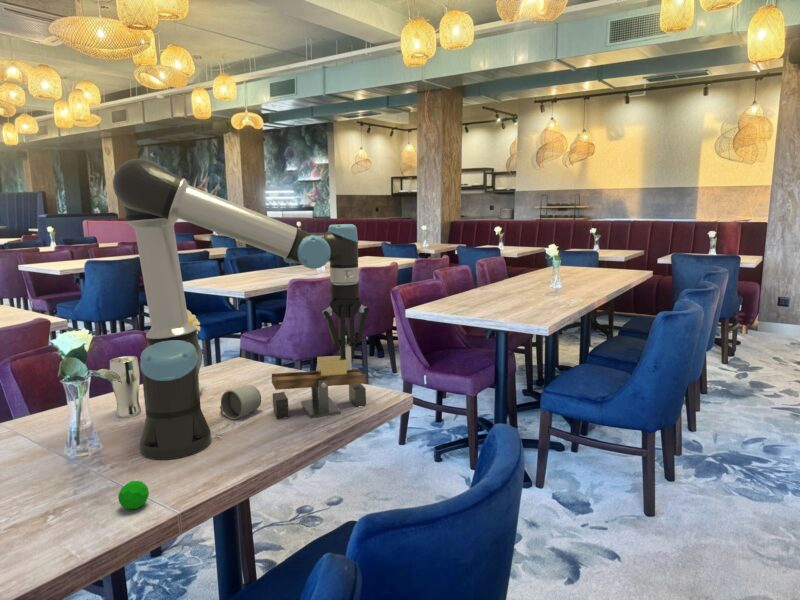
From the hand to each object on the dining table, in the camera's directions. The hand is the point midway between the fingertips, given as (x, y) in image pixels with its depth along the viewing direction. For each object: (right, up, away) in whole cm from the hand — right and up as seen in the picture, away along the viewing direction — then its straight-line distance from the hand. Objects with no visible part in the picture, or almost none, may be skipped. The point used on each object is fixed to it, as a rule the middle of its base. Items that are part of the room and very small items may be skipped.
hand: (347, 368), depth 152 cm
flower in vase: (-49, -9, +12) cm, 51 cm away
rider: (-4, -2, -1) cm, 5 cm away
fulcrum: (-7, -11, -1) cm, 13 cm away
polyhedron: (-34, -19, -50) cm, 63 cm away
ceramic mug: (-29, -12, -4) cm, 31 cm away
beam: (-7, -3, -3) cm, 8 cm away
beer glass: (-58, -12, -3) cm, 59 cm away
